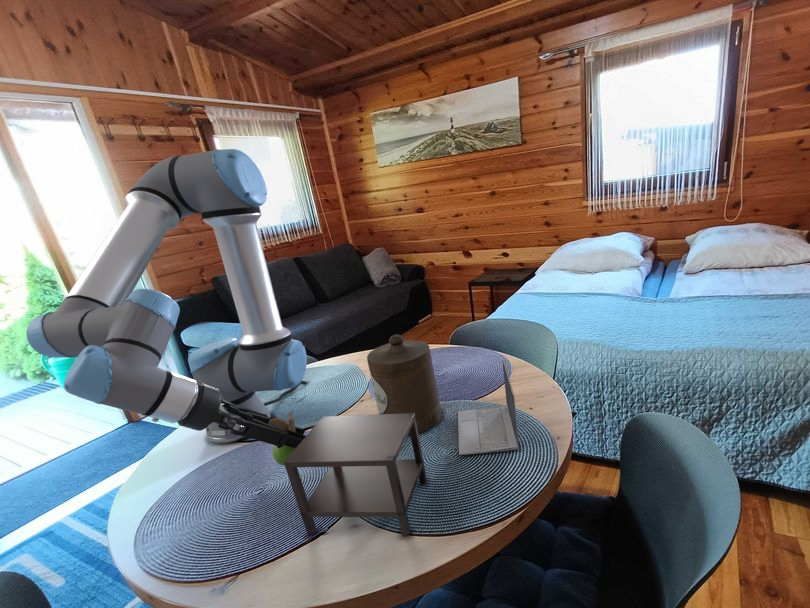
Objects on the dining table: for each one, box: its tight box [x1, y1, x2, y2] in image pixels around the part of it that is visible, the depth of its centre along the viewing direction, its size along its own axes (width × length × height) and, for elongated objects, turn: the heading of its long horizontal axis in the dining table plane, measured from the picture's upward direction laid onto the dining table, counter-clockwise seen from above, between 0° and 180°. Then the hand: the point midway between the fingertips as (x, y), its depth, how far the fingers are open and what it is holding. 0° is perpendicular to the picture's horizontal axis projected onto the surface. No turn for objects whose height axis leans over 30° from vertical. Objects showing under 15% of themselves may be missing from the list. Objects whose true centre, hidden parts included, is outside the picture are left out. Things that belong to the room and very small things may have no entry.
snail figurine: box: [268, 410, 296, 467], centre depth 84 cm, size 5×6×12 cm
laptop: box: [457, 359, 520, 456], centre depth 95 cm, size 18×12×13 cm
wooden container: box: [366, 333, 442, 436], centre depth 102 cm, size 15×15×22 cm
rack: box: [284, 413, 428, 537], centre depth 76 cm, size 14×18×15 cm
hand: (306, 440), depth 88 cm, fingers closed on snail figurine, 5 cm apart
